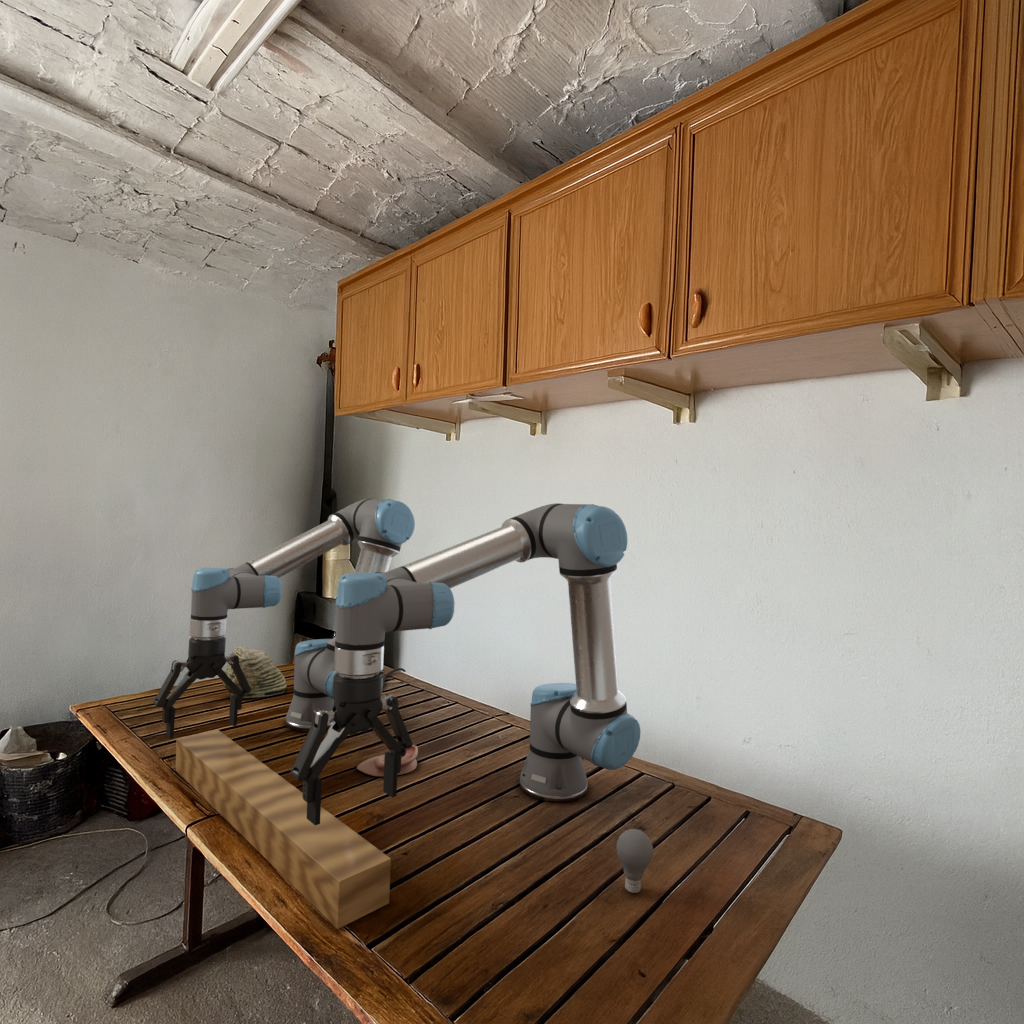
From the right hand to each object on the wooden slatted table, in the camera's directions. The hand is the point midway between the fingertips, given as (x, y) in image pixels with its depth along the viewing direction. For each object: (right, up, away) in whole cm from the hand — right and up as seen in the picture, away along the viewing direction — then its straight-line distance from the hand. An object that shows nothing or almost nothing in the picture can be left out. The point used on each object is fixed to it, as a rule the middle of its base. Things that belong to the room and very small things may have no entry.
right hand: (353, 807), depth 99 cm
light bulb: (+45, -17, +6) cm, 49 cm away
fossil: (-56, -11, +99) cm, 114 cm away
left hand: (-45, -3, +44) cm, 63 cm away
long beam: (-23, -14, +22) cm, 35 cm away
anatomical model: (-4, -14, +50) cm, 52 cm away
